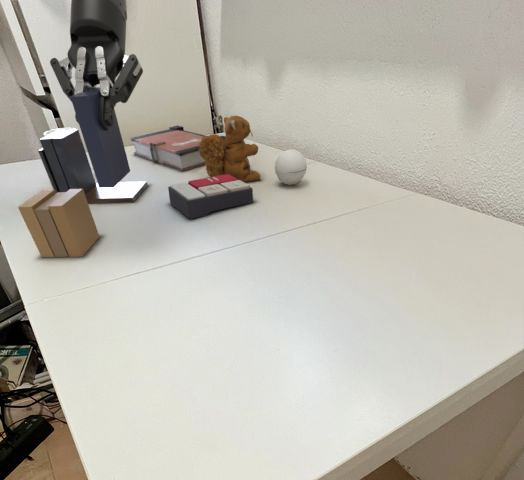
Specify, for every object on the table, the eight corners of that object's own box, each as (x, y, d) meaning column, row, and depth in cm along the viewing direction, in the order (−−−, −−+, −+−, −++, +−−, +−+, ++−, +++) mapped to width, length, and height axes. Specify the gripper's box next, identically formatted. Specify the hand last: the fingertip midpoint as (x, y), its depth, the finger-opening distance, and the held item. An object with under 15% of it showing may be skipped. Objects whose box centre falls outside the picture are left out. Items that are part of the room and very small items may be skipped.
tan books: (41, 257, 68) (17, 207, 62) (62, 237, 74) (42, 189, 68) (82, 256, 67) (62, 205, 61) (99, 236, 73) (82, 188, 67)
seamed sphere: (279, 191, 87) (278, 156, 82) (272, 180, 92) (271, 147, 87) (321, 185, 88) (323, 151, 83) (311, 175, 93) (312, 142, 89)
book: (132, 155, 116) (127, 136, 112) (180, 142, 124) (177, 125, 121) (180, 172, 101) (176, 151, 97) (231, 156, 109) (229, 137, 106)
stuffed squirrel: (263, 180, 93) (260, 118, 84) (206, 188, 91) (197, 125, 82) (254, 168, 100) (250, 110, 91) (200, 175, 98) (192, 116, 89)
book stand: (53, 204, 88) (27, 141, 79) (74, 187, 96) (53, 129, 87) (133, 202, 86) (116, 137, 77) (148, 185, 94) (133, 125, 86)
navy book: (99, 187, 60) (69, 96, 52) (117, 171, 65) (93, 87, 58) (113, 187, 59) (86, 95, 51) (130, 171, 65) (108, 86, 57)
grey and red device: (253, 184, 80) (186, 197, 74) (253, 205, 83) (189, 219, 77) (229, 172, 87) (166, 182, 81) (230, 191, 90) (169, 203, 84)
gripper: (38, -8, 53) (31, 111, 52) (134, -14, 52) (129, 108, 51) (69, 39, 61) (64, 144, 60) (154, 34, 60) (150, 141, 59)
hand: (94, 126), depth 56 cm, fingers closed on navy book, 2 cm apart
